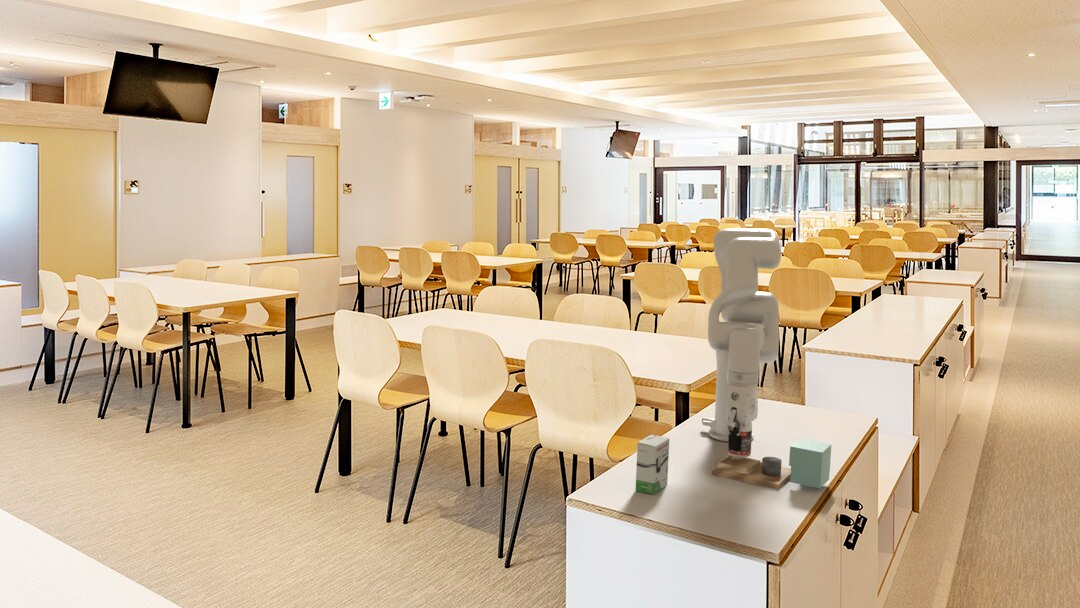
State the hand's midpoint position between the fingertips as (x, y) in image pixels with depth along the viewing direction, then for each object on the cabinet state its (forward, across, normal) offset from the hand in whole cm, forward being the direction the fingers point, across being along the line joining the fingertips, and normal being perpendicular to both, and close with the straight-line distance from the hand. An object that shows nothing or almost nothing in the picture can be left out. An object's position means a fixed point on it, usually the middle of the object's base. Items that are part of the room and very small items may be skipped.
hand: (739, 446), depth 210 cm
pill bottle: (+2, 0, 0) cm, 2 cm away
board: (+6, 0, -4) cm, 8 cm away
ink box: (+7, -23, +13) cm, 27 cm away
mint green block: (+5, 0, -18) cm, 18 cm away
